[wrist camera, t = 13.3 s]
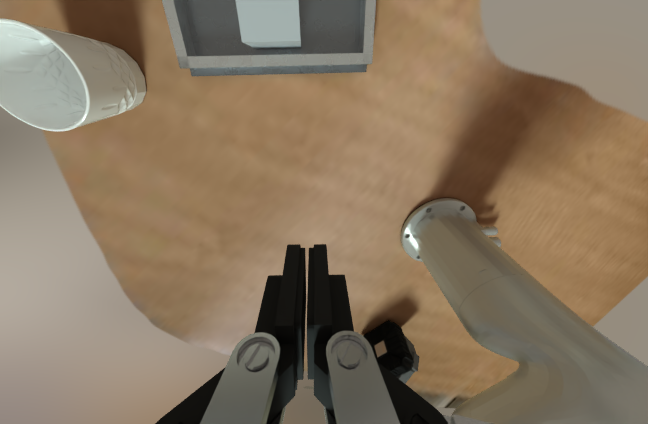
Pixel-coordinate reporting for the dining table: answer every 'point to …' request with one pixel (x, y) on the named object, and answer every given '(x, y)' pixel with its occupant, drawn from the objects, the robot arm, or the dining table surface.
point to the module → (269, 23)
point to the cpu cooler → (393, 350)
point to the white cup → (64, 77)
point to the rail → (241, 59)
